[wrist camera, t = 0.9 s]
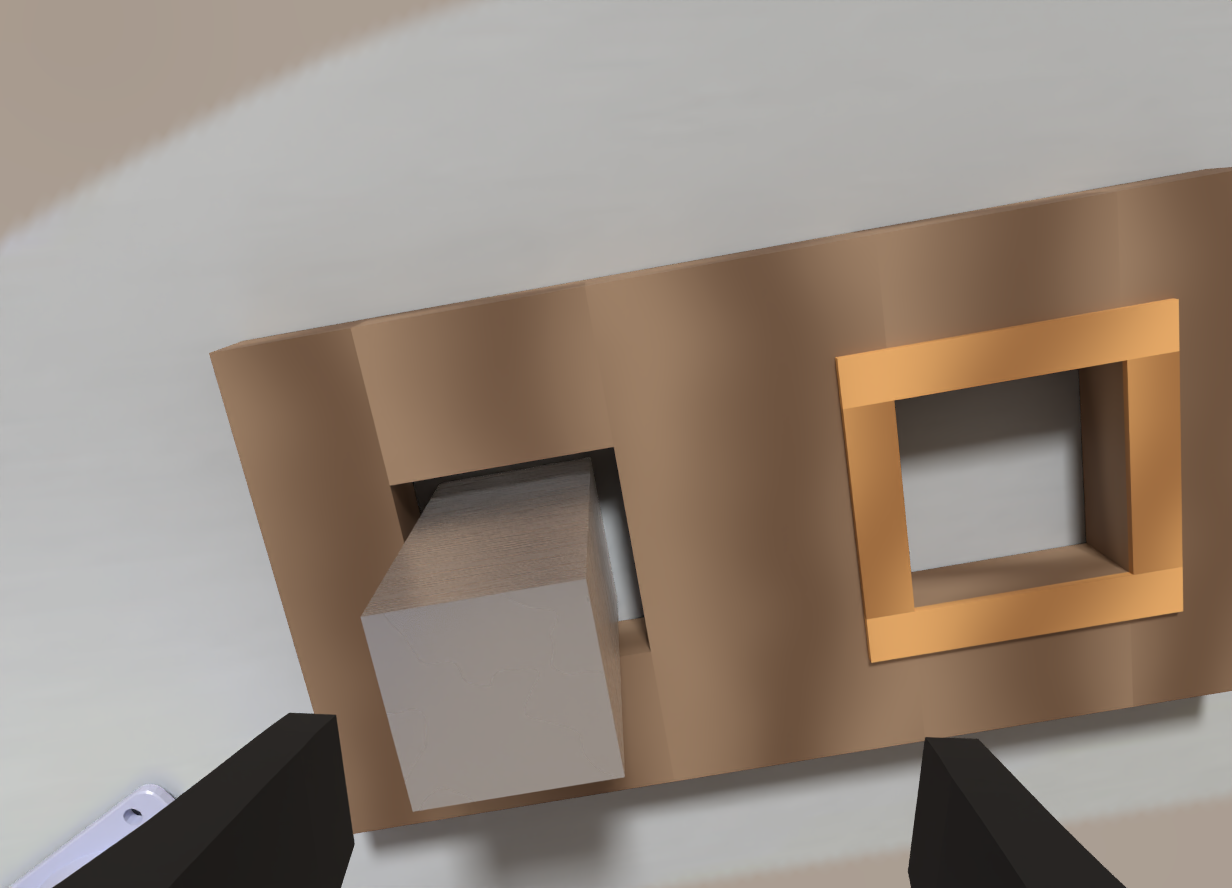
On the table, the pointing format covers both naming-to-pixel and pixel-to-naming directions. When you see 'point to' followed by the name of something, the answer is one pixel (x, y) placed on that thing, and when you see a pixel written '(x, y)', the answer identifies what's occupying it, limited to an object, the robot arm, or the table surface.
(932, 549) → the table surface
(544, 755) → the steel peg
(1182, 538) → the wooden peg hole board
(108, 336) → the table surface
